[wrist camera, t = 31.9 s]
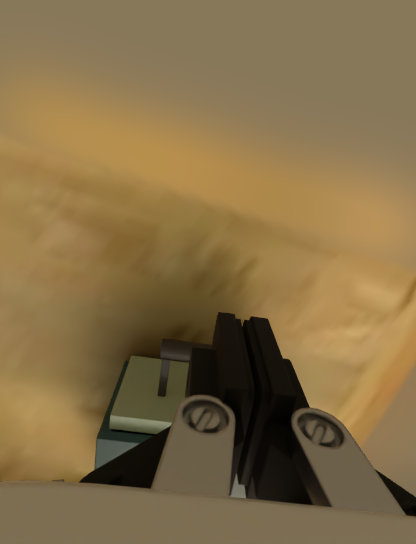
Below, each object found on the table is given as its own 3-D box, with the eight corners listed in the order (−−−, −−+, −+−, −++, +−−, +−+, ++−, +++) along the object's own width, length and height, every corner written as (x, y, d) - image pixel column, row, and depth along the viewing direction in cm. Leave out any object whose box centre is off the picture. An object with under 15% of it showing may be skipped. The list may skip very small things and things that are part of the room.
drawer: (136, 307, 29) (114, 356, 22) (269, 325, 30) (289, 378, 23) (120, 469, 35) (99, 548, 28) (231, 482, 36) (238, 561, 29)
